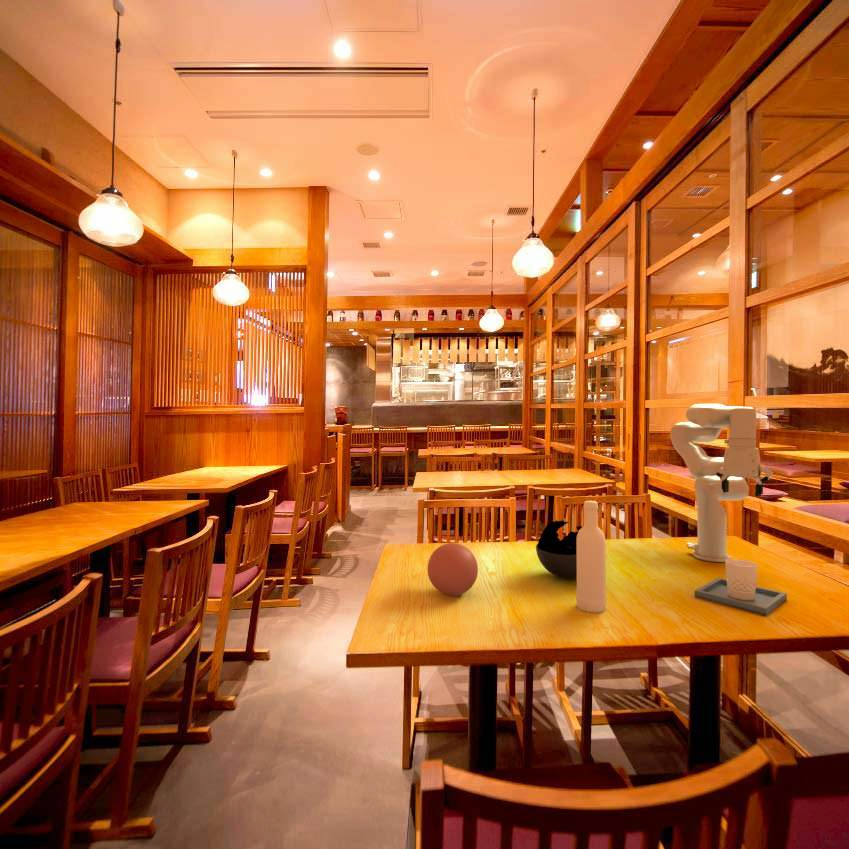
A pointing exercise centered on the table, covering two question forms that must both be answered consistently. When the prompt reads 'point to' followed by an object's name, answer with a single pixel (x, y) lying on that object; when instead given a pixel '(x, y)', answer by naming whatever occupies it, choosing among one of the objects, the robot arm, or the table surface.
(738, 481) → the robot arm
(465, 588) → the brown rubber ball
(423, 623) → the table surface
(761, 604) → the serving tray
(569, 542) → the bowl of black rocks
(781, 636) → the table surface
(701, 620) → the table surface
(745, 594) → the white cup
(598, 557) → the bottle
